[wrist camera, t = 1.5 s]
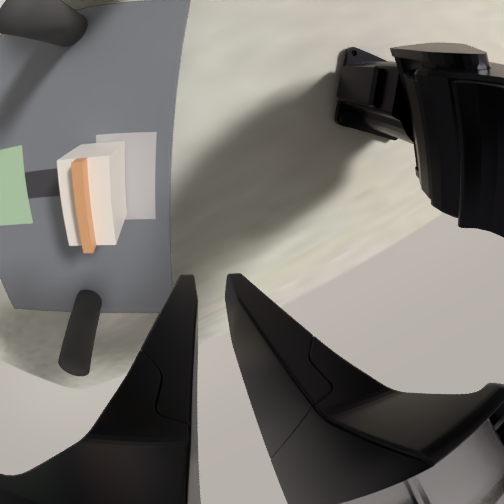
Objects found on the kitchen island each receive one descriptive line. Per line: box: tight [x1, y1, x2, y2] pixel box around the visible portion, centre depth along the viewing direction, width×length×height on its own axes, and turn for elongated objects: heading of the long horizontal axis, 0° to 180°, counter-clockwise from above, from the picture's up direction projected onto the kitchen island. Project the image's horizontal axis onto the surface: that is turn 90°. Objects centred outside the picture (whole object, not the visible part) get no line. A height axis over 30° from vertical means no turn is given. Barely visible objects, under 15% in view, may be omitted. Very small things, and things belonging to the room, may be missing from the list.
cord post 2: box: [58, 289, 102, 376], centre depth 18 cm, size 2×2×7 cm
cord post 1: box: [0, 0, 87, 47], centre depth 6 cm, size 2×2×7 cm
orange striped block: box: [57, 141, 127, 253], centre depth 14 cm, size 3×5×5 cm, turn 172°
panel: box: [0, 0, 190, 313], centre depth 15 cm, size 17×24×1 cm
